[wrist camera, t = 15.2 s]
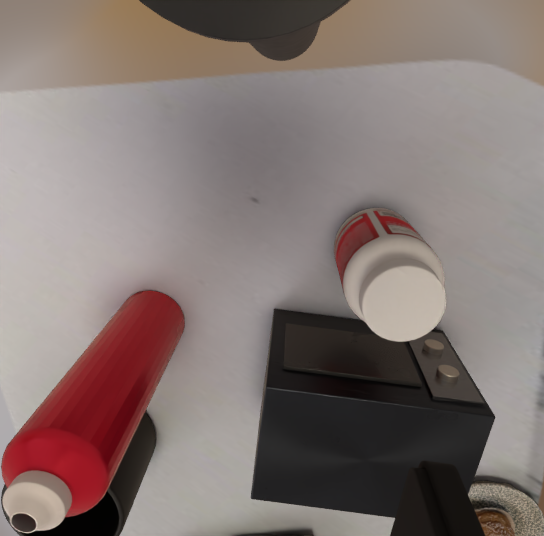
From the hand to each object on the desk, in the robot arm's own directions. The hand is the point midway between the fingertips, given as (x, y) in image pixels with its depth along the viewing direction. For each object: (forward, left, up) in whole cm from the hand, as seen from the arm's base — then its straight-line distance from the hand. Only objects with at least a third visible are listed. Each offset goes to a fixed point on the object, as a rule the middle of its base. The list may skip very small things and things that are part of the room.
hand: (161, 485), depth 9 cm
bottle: (+12, -8, -28) cm, 32 cm away
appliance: (+14, +9, -28) cm, 33 cm away
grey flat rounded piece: (+30, +24, -28) cm, 48 cm away
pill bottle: (+3, +9, -28) cm, 30 cm away
